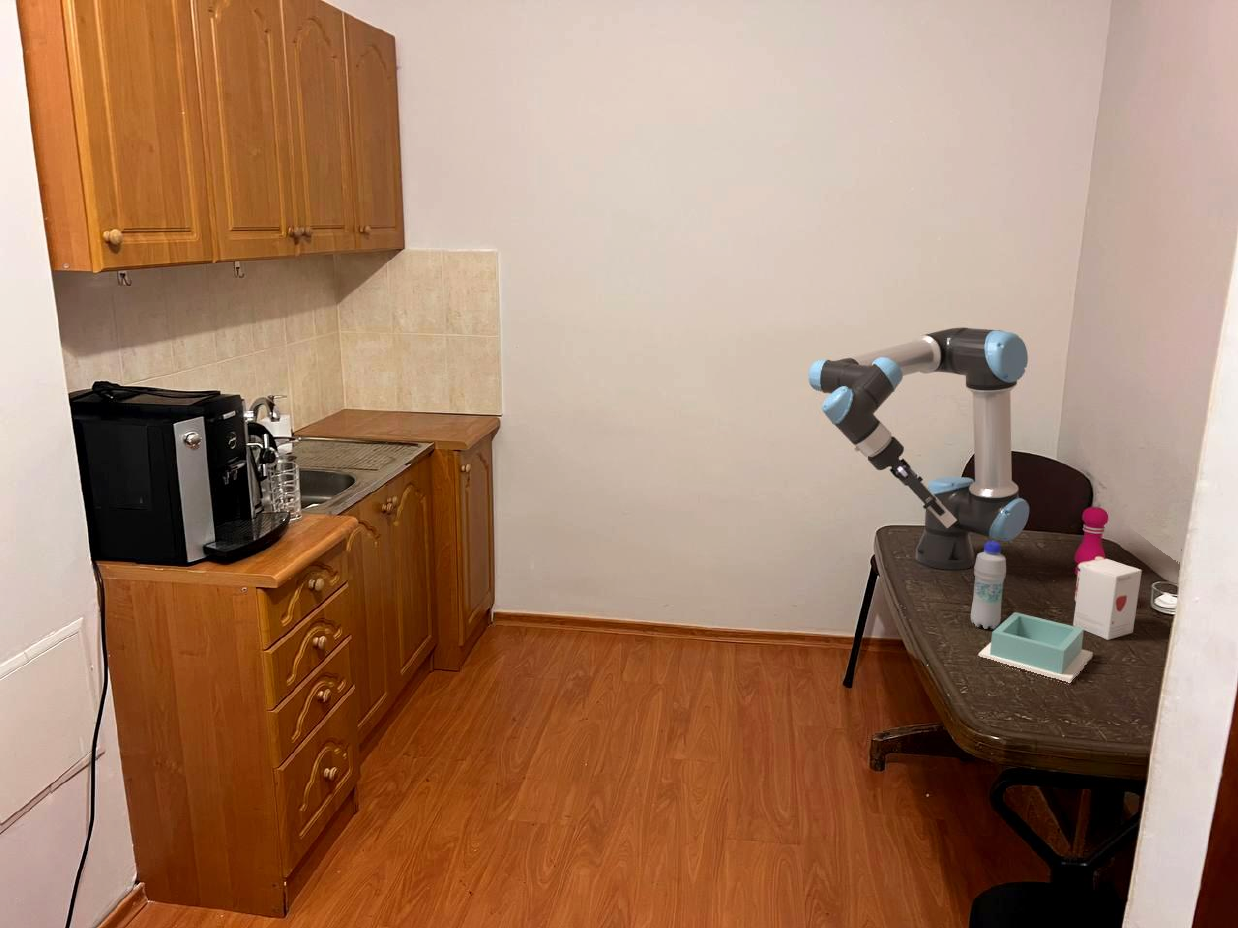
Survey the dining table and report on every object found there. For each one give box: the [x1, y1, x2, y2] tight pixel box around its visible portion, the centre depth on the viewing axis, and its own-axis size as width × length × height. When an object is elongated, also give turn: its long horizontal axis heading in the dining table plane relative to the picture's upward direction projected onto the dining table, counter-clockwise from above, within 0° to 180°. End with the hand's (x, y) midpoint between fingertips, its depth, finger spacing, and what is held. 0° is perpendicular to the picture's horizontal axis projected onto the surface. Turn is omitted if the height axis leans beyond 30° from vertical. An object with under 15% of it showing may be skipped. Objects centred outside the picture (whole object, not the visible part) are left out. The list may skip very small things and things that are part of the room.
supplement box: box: [1072, 558, 1143, 641], centre depth 206 cm, size 9×9×15 cm
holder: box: [977, 611, 1094, 684], centre depth 193 cm, size 18×16×6 cm
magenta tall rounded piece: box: [1074, 501, 1109, 576], centre depth 239 cm, size 7×7×20 cm
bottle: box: [970, 541, 1007, 630], centre depth 208 cm, size 7×7×20 cm
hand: (944, 515), depth 204 cm, fingers open, 13 cm apart
